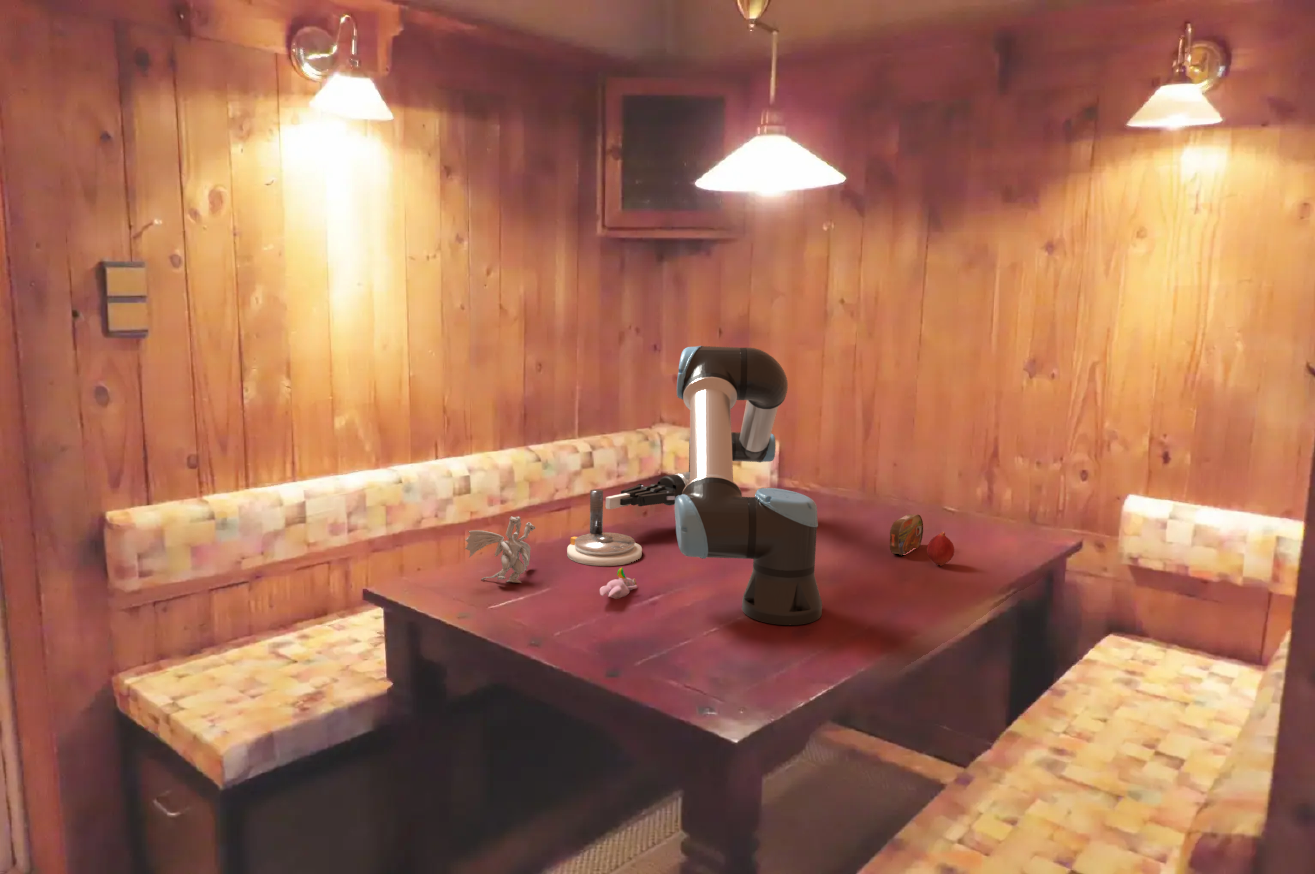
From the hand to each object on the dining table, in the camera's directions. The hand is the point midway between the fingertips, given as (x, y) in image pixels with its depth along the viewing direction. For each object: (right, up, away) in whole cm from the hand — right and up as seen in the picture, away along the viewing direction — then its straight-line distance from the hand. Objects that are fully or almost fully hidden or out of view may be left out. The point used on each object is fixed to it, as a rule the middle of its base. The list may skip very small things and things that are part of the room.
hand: (607, 503), depth 216 cm
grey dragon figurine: (-19, -14, -25) cm, 35 cm away
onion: (+75, -14, -10) cm, 77 cm away
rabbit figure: (+4, -16, -34) cm, 38 cm away
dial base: (0, -11, -7) cm, 13 cm away
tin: (+71, -12, +1) cm, 72 cm away
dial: (0, -9, -7) cm, 12 cm away
